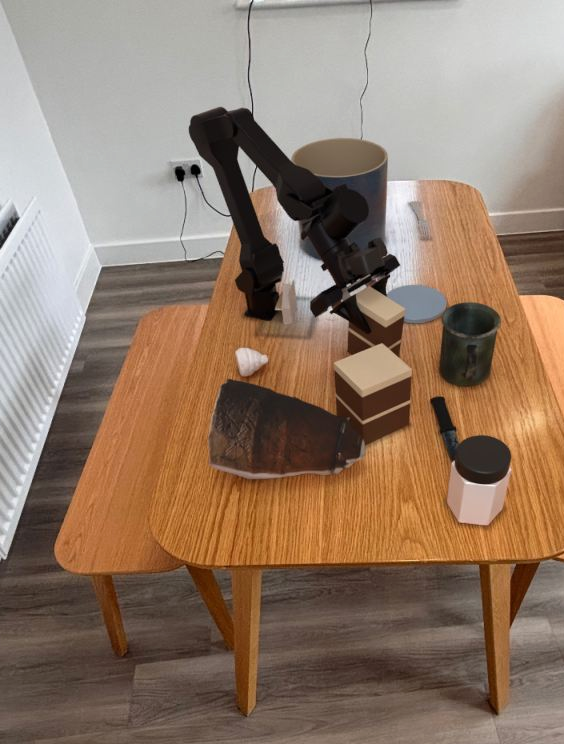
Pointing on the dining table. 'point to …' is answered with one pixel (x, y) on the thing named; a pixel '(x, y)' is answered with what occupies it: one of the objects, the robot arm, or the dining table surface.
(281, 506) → the dining table surface
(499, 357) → the dining table surface
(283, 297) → the napkin holder
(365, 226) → the planter
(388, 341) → the cake slice
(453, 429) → the knife
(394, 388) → the cake
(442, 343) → the mug
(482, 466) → the jar
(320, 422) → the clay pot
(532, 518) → the dining table surface
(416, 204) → the fork
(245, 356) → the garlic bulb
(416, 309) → the plate
